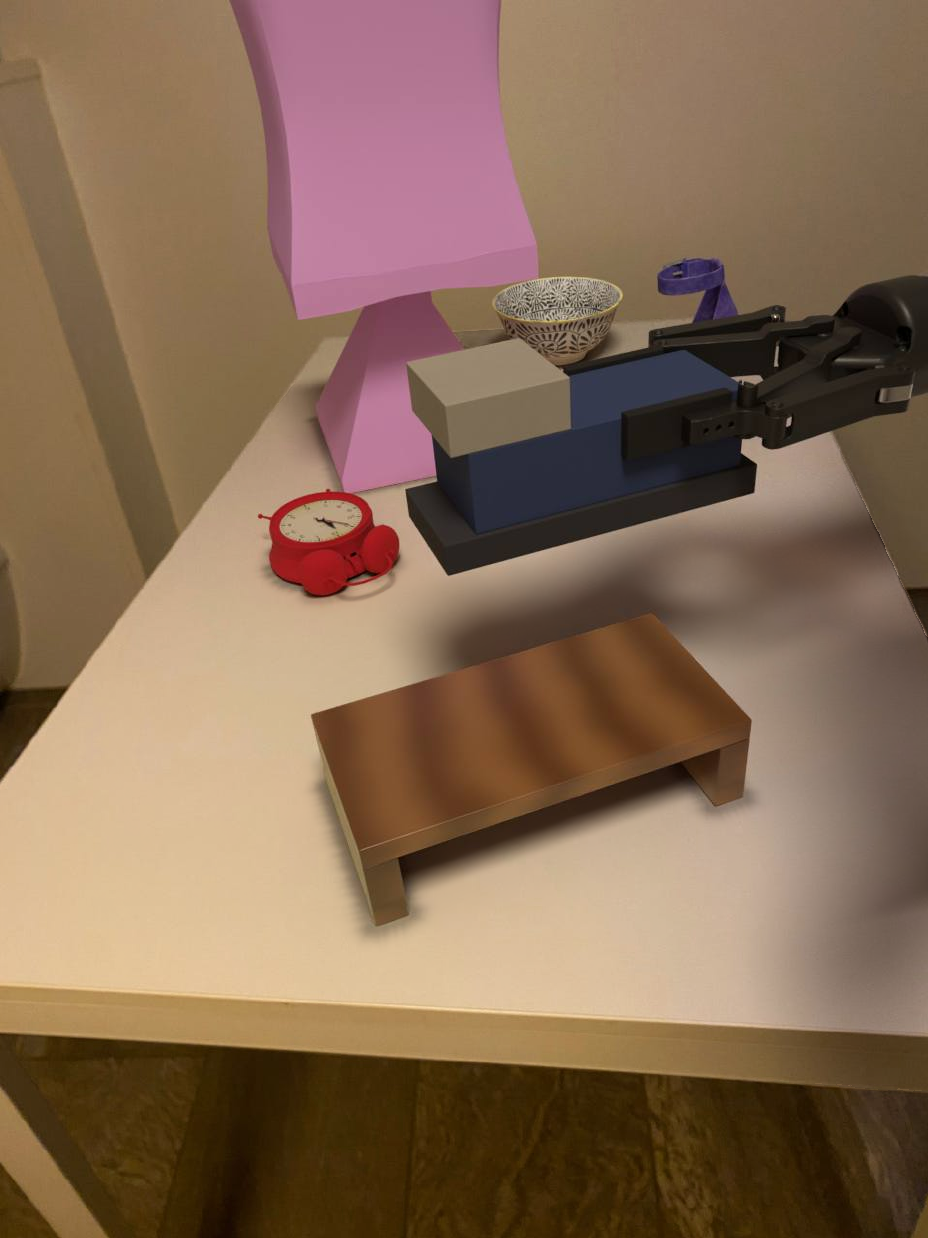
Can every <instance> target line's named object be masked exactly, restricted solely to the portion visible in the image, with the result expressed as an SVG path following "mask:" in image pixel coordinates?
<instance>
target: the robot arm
mask: <svg viewBox="0 0 928 1238" xmlns="http://www.w3.org/2000/svg"><path fill="white" fill-rule="evenodd" d="M786 312H787V308H786V306H784V305H779V304H774V305H770V306H766V307H764V308H761V309H759V310H756V311H753V312H747V313H742V314H738V315H736V316H730V317H724V318H718V319H712V320H706V321H700V322H694V323H692V322H689V323H684V324H678V325H671V326H665V327H660V328H654V329H650V330H649V331H648V340H647V342H648V343H647V345H648V346H647V347H645V348H640V349H635V350H631V351H626V352H622V353H618V354H612V355H608V356H603V357H600V358H596V359H595V358H594V359H591V360H585V361H581V362H576V363H572V364H567V365H562V372H563V373H565V374H566V375H567V376H571V375H575V374H580V373H584V372H588V371H593V370H597V369H602V368H606V367H610V366H615V365H619V364H623V363H628V362H632V361H637V360H641V359H645V358H650V357H654V356H658V355H663V354H667V353H672V352H676V351H680V350H686V351H687V352H689V353H691V354H692V355H694V356H696V357H697V358H699V359H701V360H702V361H704V362H706V363H707V364H709V365H711V366H712V367H714V368H716V369H717V370H719V371H721V372H722V373H724V374H726V375H727V376H729V377H731V378H738V377H751V376H752V377H753V376H759V377H760V378H761V379H762V380H761V381H759V382H757V383H753V382H749V381H745V380H744V381H743V380H742V379H739V380H738V381H737V382H738V393H737V401H736V402H732V391H730V390H729V389H727V388H726V387H724V388H719V389H715V390H711V391H707V392H703V393H699V394H694V395H690V396H686V397H682V398H678V399H674V400H669V401H665V402H661V403H657V404H653V405H649V406H644V407H640V408H636V409H632V410H628V411H624V412H621V457H622V458H623V459H625V460H626V461H627V462H628V461H632V460H636V459H640V458H644V457H648V456H652V455H656V454H660V453H664V452H668V451H672V450H676V449H680V448H684V447H688V446H691V445H695V444H702V443H706V442H708V441H714V440H715V439H716V440H718V439H722V438H726V437H729V436H733V435H734V436H735V437H736V438H739V439H742V440H751V439H755V438H759V439H761V446H762V447H763V448H764V449H767V450H771V451H772V450H779V449H783V448H786V447H789V446H792V445H794V444H797V443H801V442H803V441H807V440H809V439H812V438H816V437H818V436H821V435H824V434H827V433H830V432H833V431H836V430H838V429H841V428H844V427H847V426H850V425H853V424H856V423H860V422H863V421H865V420H868V419H871V418H874V417H881V416H888V415H889V416H890V415H895V414H903V413H906V412H908V410H909V407H910V402H911V398H914V397H918V396H922V395H926V394H928V269H926V270H921V271H920V272H916V273H914V274H909V275H903V276H899V277H898V276H897V277H893V278H890V279H884V280H880V281H875V282H872V283H867V284H864V285H862V286H860V287H858V288H856V289H855V290H854V291H853V292H852V293H850V294H849V295H848V297H847V298H846V299H845V300H844V302H843V303H842V304H841V306H840V307H839V308H838V310H836V311H835V312H834V314H832V315H830V314H818V315H817V314H816V315H809V316H807V317H805V318H803V319H802V320H789V319H786V314H787V313H786ZM777 348H778V351H777ZM776 353H777V358H776ZM776 359H777V360H776ZM776 361H777V362H776ZM775 363H777V365H776V366H775ZM731 402H732V403H731ZM790 418H791V419H790ZM789 419H790V424H789V425H787V424H788V423H787V422H788V420H789Z"/></svg>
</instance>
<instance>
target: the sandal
mask: <svg viewBox="0 0 928 1238" xmlns="http://www.w3.org/2000/svg"><path fill="white" fill-rule="evenodd" d="M724 266H725V265H724V264H723V262H722V260H720V259H718V258H716V257H712V258H711V259H707V258H701V257H697V258H696V257H695V258H690V259H687V258H686V257H684V258H682V259H679V260H674V261H670V262H667V263H666V262H665V263H664V264H663V265H662V270H660V271H659V272H658V273H657V279H656V280H657V292H658V293H659V294H661V295H663V296H670V297H674V296H676V297H677V296H684V295H692V294H696V293H700V292H704V293H703V296H702V297H701V300H700V302H699V305H698V307H697V309H696V312H695V315H694V317H693V319H692V322H691V323H694V322H700V321H706V320H712V319H718V318H724V317H730V316H736V315H739V312H738V308H737V307H736V304H735V302H734V300H733V297H732V296H731V293H730V291H729V288H728V286H727V284H726V272H725V267H724Z"/></svg>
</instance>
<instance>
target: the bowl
mask: <svg viewBox="0 0 928 1238" xmlns="http://www.w3.org/2000/svg"><path fill="white" fill-rule="evenodd" d="M623 295H624V293H623V291H622V289H621V288H620V287H618V286H617V285H615V284H614V283H611V282H609V281H607V280H603V279H599V278H594V277H586V276H551V277H543V278H538V279H532V280H526V281H521V282H518V283H515V284H513V285H510V286H508V287H506V288H504V289H502V290H501V291H499V292H498V293H497V294H496V295H494V297H493V299H492V301H491V305H492V308H493V310H494V311H495V313H496V315H497V316H498V319H499V321H500V322H501V325H502V327H503V329H504V331H505V334H506V336H507V337H508V339H509V340H512V339H516V338H520V339H522V340H523V341H524V342H525V343H527V344H528V345H529V346H530V347H532V348H533V349H534V350H535V351H537V352H538V353H539V354H541V355H542V356H543V357H544V358H546V359H547V360H548V361H549V362H551V363H552V364H553V365H554V366H556V367H558V366H568V365H572V364H576V363H579V362H580V361H582V360H583V359H584V358H585V357H586V356H587V353H588V352H589V351H591V350H592V349H594V348H595V347H596V346H597V345H599V344H600V343H601V342H602V341H603V339H604V338H605V337H606V336H607V334H608V333H609V331H610V329H611V327H612V324H613V322H614V319H615V316H616V313H617V310H618V309H619V307H620V304H621V302H622V300H623V297H624V296H623Z"/></svg>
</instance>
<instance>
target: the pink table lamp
mask: <svg viewBox="0 0 928 1238" xmlns="http://www.w3.org/2000/svg"><path fill="white" fill-rule="evenodd" d="M229 4H230V6H231V8H232V12H233V15H234V18H235V20H236V24H237V27H238V30H239V32H240V33H239V34H240V35H241V39H242V42H243V45H244V46H243V47H244V49H245V52H246V55H247V59H248V62H249V66H250V69H251V72H252V76H253V82H254V86H255V90H256V93H257V98H258V102H259V103H258V104H259V107H260V115H261V120H262V127H263V134H264V135H263V136H264V144H265V145H264V146H265V157H266V177H267V178H266V179H267V184H266V185H267V202H266V203H267V205H266V206H267V209H266V211H267V212H266V228H267V229H266V230H267V234H268V240H269V244H270V248H271V249H270V250H271V255H272V257H273V260H274V262H275V265H276V267H277V269H278V271H279V273H280V275H281V278H282V280H283V282H284V285H285V288H286V291H287V293H288V297H289V300H290V302H291V305H292V308H293V311H294V314H295V316H296V319H297V321H301V320H307V319H308V320H309V319H311V318H312V319H313V318H319V317H325V316H329V315H336V314H341V313H348V312H351V311H354V310H357V309H361V308H362V310H361V312H360V314H359V316H358V318H357V320H356V322H355V324H354V326H353V328H352V330H351V332H350V334H349V335H348V336H349V337H348V339H347V341H346V343H345V345H344V347H343V349H342V350H341V353H340V355H339V356H338V359H337V361H336V363H335V365H334V367H333V370H332V372H331V374H330V376H329V378H328V380H327V382H326V384H325V386H324V388H323V390H322V392H321V395H320V396H319V398H318V400H317V402H316V404H315V409H316V414H317V420H318V423H319V425H320V428H321V431H322V434H323V437H324V440H325V442H326V445H327V449H328V451H329V454H330V456H331V460H332V462H333V466H334V468H335V471H336V474H337V476H338V479H339V482H340V485H341V488H342V490H343V491H342V492H345V493H350V494H354V493H359V492H364V491H368V490H373V489H378V488H384V487H388V486H393V485H398V484H404V483H407V482H412V481H417V480H422V479H427V478H432V477H437V476H436V468H435V459H434V451H433V442H432V434H431V433H430V432H429V431H428V429H427V428H426V427H425V426H424V425H423V423H422V422H421V421H420V420H419V418H418V417H417V416H416V415H415V414H414V412H413V411H412V406H411V398H410V390H409V382H408V374H407V367H406V362H410V361H414V360H419V359H424V358H428V357H433V356H438V355H442V354H447V353H452V352H456V351H461V350H465V349H466V348H465V347H464V346H463V345H462V343H461V342H460V341H459V339H458V338H457V335H456V334H455V333H454V332H453V330H452V329H451V327H450V326H449V324H448V323H447V321H446V320H445V319H444V317H443V315H442V314H441V313H440V311H439V310H438V308H437V307H436V305H435V304H434V303H433V297H432V291H439V290H445V289H465V288H469V289H470V288H488V287H489V288H490V287H497V286H502V285H508V284H509V285H510V284H514V283H515V284H516V283H522V282H526V281H530V280H535V279H540V278H539V273H540V272H539V252H538V242H537V240H536V237H535V233H534V230H533V229H532V225H531V222H530V219H529V217H528V213H527V211H526V210H527V209H526V207H525V204H524V201H523V198H522V194H521V191H520V188H519V185H518V182H517V179H516V174H515V171H514V167H513V163H512V157H511V154H510V150H509V146H508V142H507V136H506V130H505V124H504V118H503V111H502V105H501V91H500V90H501V89H500V88H501V87H500V67H499V58H500V57H499V56H500V24H501V23H500V21H501V8H502V0H229Z"/></svg>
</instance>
